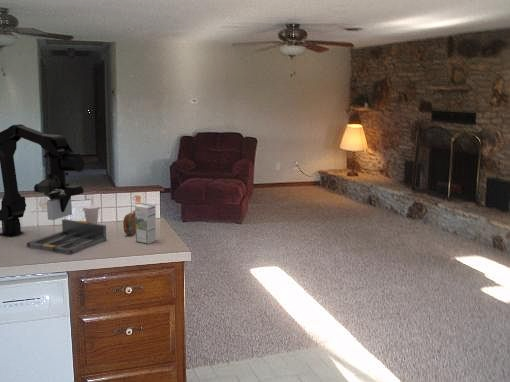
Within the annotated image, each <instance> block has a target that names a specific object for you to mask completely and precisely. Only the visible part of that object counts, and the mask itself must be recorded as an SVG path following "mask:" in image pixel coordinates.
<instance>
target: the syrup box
mask: <svg viewBox="0 0 510 382" xmlns="http://www.w3.org/2000/svg"><path fill="white" fill-rule="evenodd" d="M134 210H135V221H136V233H135V242H136V243H141V244H146V245H148V244H151V243H154V242H156V241H157V232H156V231H157V229H156V226H157V225H156V223H157V219H156V210H157V209H156V204H153V203H148V202H147V203H145V202H141V203H139V204H136V205H134Z"/></svg>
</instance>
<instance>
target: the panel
mask: <svg viewBox="0 0 510 382" xmlns="http://www.w3.org/2000/svg"><path fill="white" fill-rule="evenodd" d="M72 206H73V205H72V197H71V198H70V200H69V202H68V204H67V206H66V209H65V211H64V212H61V205H60V198H55V199H52V200H50V199H48V200H46V208H47V209H46V211H47V220H50V221H55V220H58V219H61V218H64V217H67V216H71V215H73V209H72V208H73V207H72Z"/></svg>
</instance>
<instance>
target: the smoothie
mask: <svg viewBox="0 0 510 382" xmlns="http://www.w3.org/2000/svg"><path fill="white" fill-rule="evenodd" d="M82 208H83V209H82V210H83V211H84V218H85V221H87V222H90V223H94V224H98V221H99V220H98V219H99V210H100V205H98V204H94V196H93V195H91V204H87V205H84V206H82Z"/></svg>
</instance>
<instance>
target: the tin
mask: <svg viewBox="0 0 510 382" xmlns="http://www.w3.org/2000/svg"><path fill="white" fill-rule="evenodd" d="M122 223H123V231H124V234H126V235H127V236H128V235H130V236H131V235H136V221H135V209H134V210H132V211H131V212H129V213H127V214H125V216H124V217H123V220H122Z"/></svg>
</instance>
